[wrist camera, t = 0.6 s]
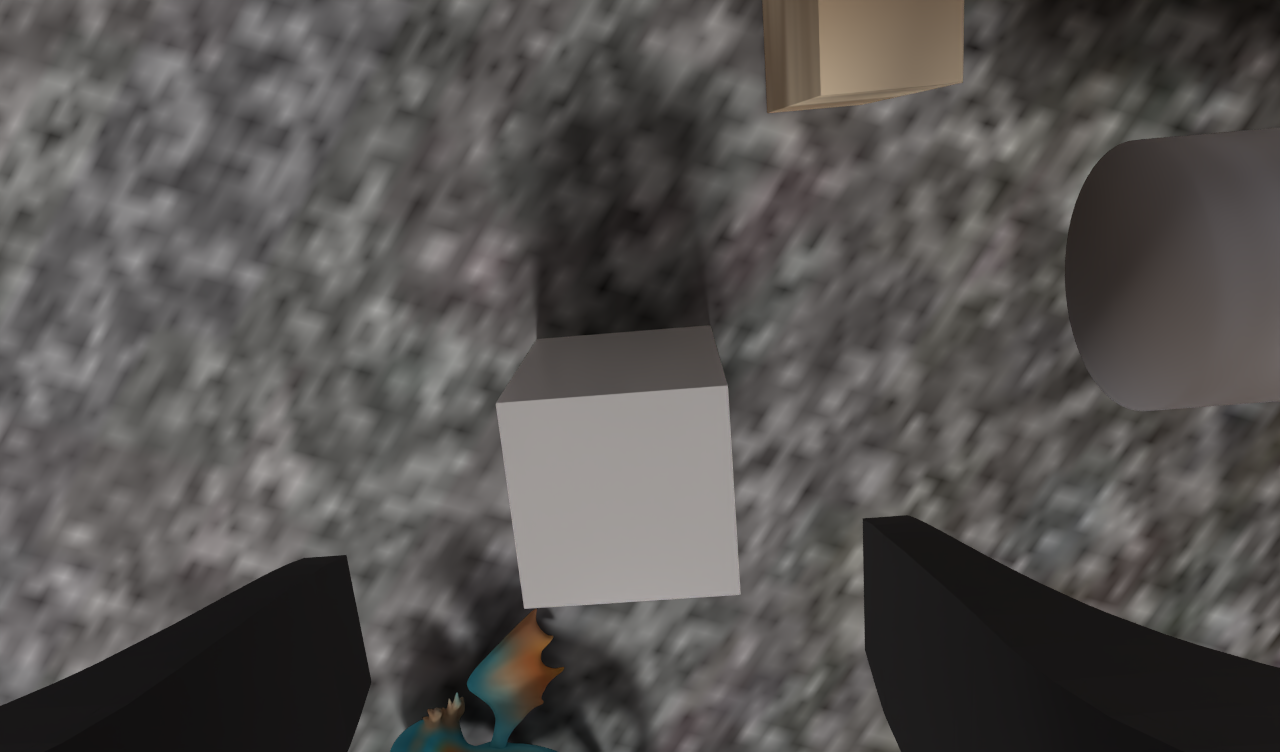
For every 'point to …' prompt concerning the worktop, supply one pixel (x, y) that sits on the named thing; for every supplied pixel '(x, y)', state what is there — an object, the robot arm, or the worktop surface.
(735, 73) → the worktop surface
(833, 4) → the trapdoor posts
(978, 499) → the worktop surface
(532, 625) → the dragon figurine
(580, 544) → the grey rectangular block
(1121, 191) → the trapdoor
